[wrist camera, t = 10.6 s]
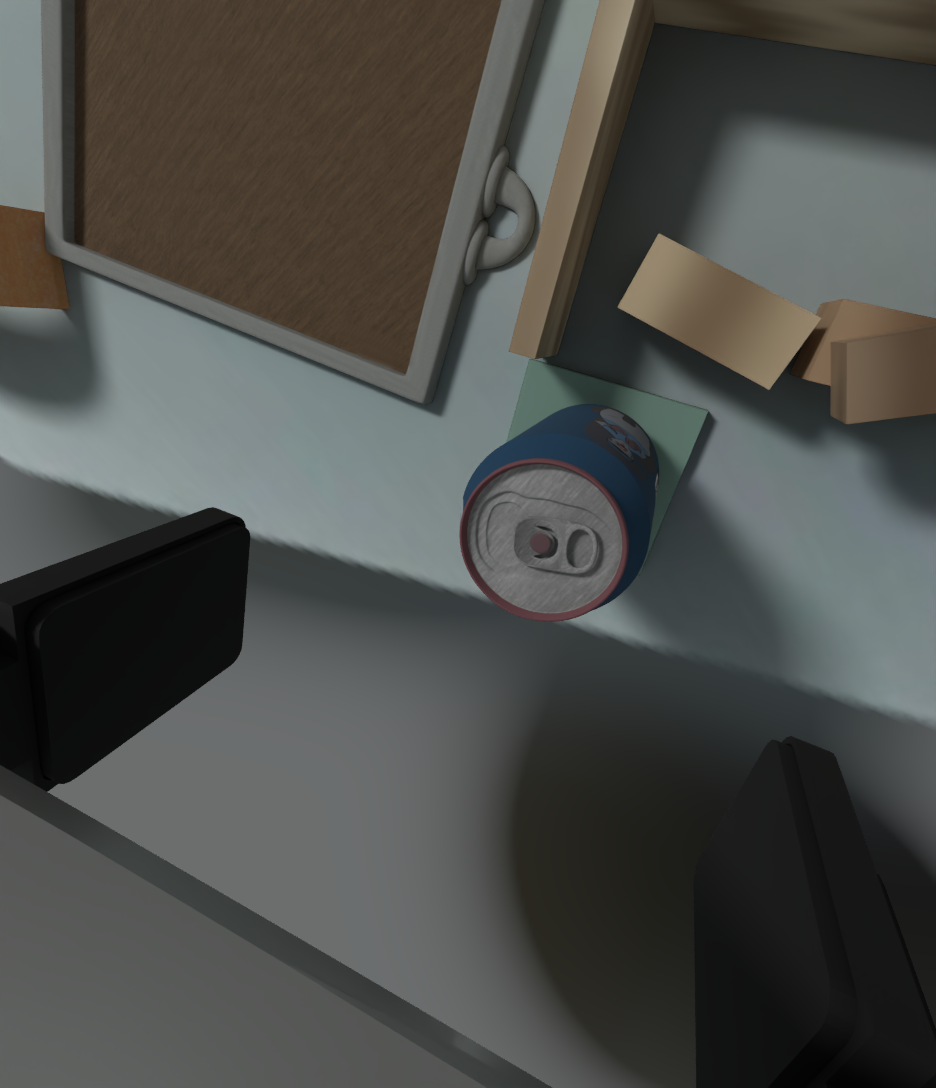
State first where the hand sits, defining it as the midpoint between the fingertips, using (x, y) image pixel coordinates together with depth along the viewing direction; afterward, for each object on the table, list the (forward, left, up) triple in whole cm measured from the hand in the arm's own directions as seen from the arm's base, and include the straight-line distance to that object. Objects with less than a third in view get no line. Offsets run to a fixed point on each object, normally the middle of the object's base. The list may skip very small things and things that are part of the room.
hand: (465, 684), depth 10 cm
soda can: (+1, +1, -22) cm, 22 cm away
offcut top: (-10, -7, -19) cm, 22 cm away
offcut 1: (-2, -7, -23) cm, 24 cm away
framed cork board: (+22, -10, -23) cm, 33 cm away
